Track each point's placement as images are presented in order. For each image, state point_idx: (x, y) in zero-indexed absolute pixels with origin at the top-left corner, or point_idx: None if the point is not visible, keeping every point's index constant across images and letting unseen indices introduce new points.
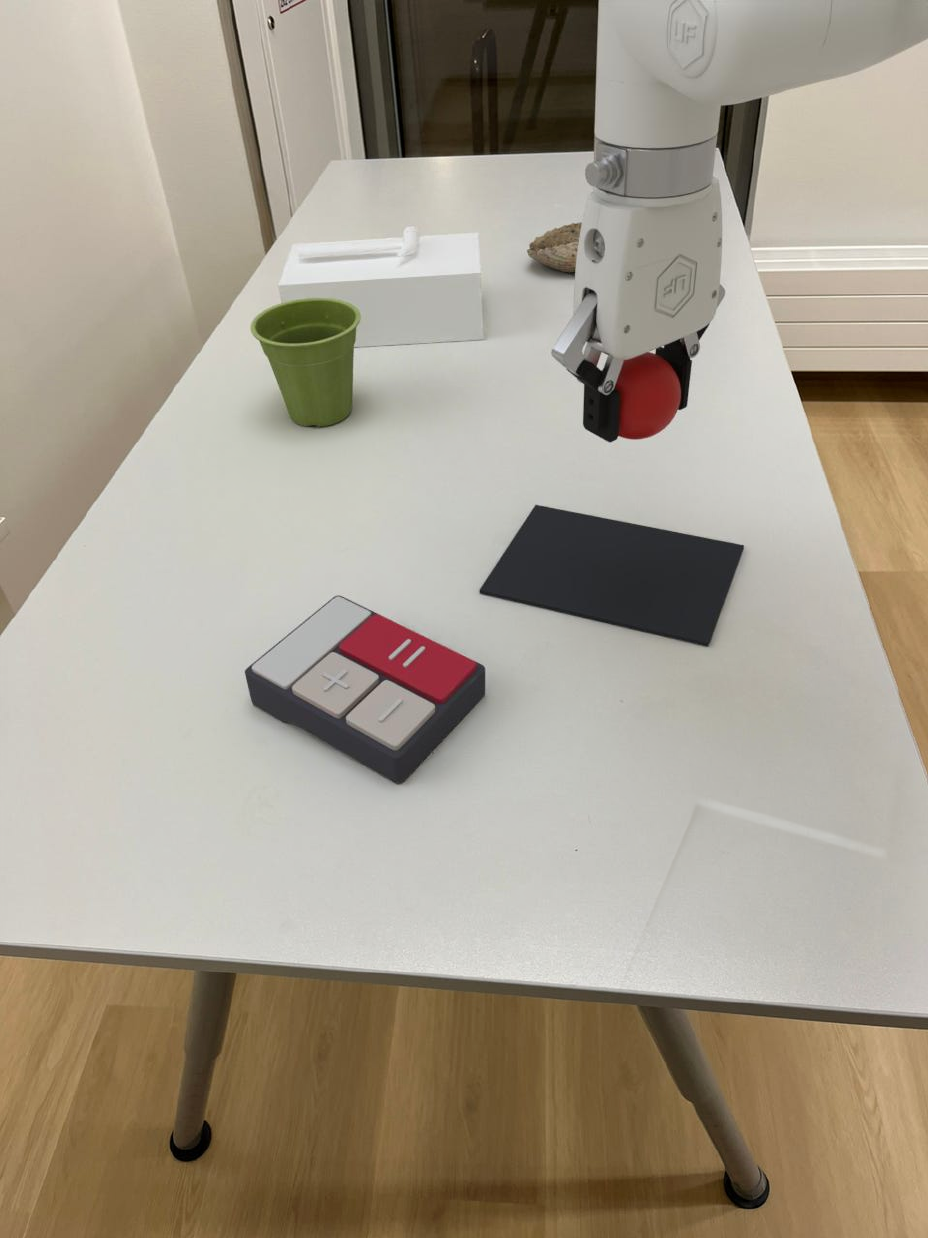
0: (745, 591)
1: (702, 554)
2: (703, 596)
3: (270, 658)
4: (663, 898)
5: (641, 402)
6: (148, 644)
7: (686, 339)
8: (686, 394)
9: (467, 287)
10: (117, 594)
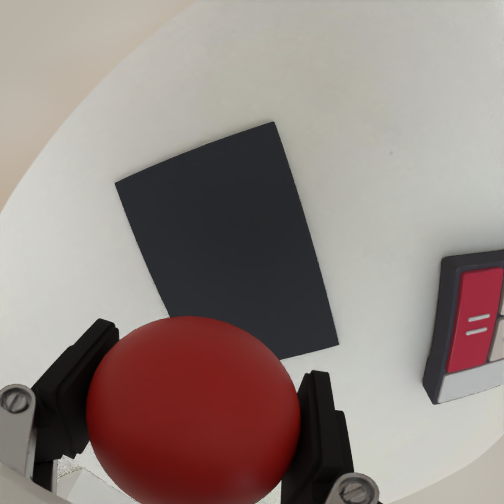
0: (171, 140)
1: (152, 207)
2: (211, 166)
3: (502, 380)
4: (500, 51)
5: (273, 407)
6: (466, 432)
7: (21, 445)
8: (88, 336)
9: (77, 499)
10: (434, 466)
